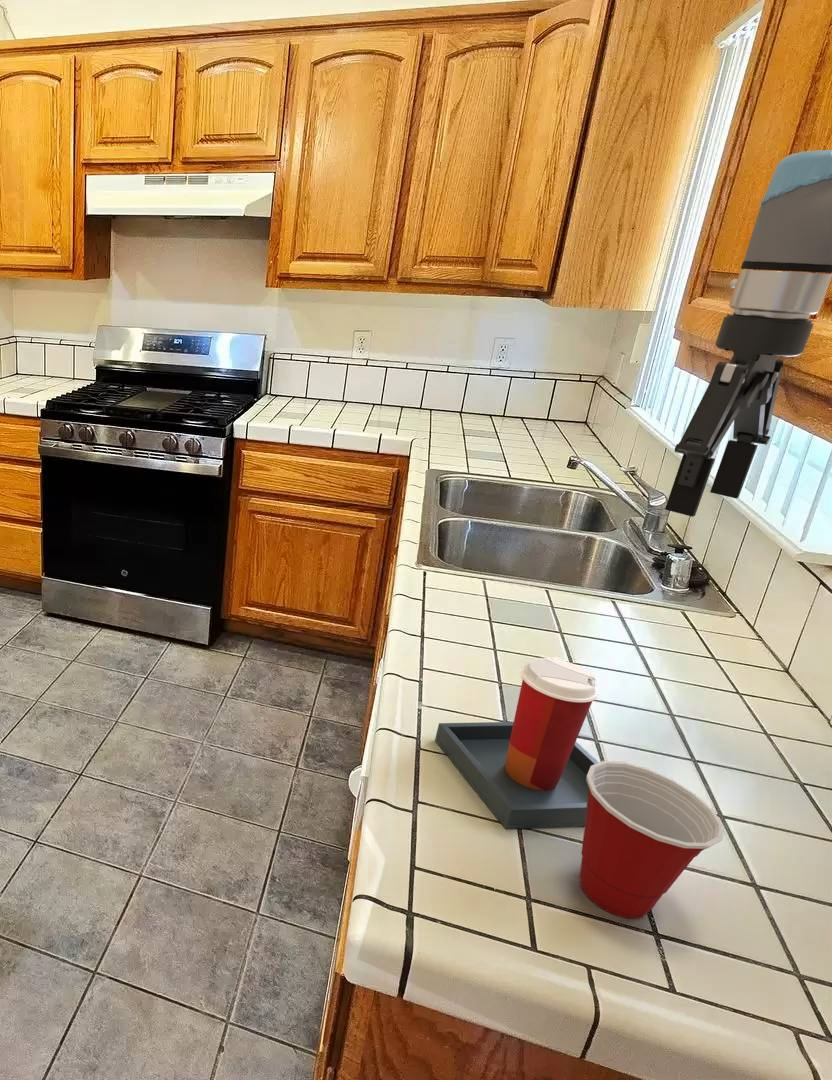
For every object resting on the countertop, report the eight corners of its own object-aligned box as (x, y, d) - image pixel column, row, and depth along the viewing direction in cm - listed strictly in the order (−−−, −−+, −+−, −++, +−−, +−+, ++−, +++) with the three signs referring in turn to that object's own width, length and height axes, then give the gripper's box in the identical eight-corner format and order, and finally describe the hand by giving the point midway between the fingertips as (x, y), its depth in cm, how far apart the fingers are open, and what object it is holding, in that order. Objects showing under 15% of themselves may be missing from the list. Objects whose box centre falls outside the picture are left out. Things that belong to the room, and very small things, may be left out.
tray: (638, 824, 83) (645, 805, 82) (505, 829, 81) (511, 810, 80) (549, 737, 97) (554, 720, 96) (434, 740, 96) (438, 722, 95)
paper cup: (570, 770, 90) (603, 669, 85) (564, 806, 84) (600, 699, 79) (498, 746, 94) (526, 647, 89) (489, 778, 88) (518, 675, 83)
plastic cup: (691, 964, 66) (739, 859, 62) (553, 911, 71) (588, 810, 67) (675, 881, 75) (716, 784, 71) (553, 839, 80) (585, 745, 76)
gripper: (765, 310, 90) (705, 480, 98) (683, 312, 76) (621, 510, 84) (848, 316, 84) (777, 496, 92) (775, 320, 70) (699, 531, 78)
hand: (702, 503), depth 88 cm, fingers open, 13 cm apart
